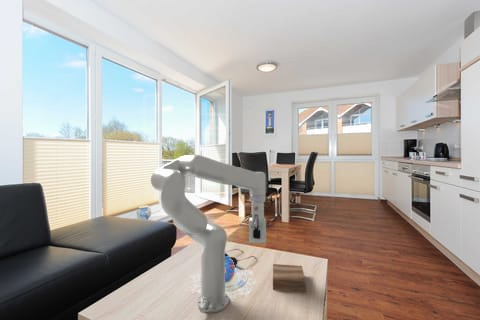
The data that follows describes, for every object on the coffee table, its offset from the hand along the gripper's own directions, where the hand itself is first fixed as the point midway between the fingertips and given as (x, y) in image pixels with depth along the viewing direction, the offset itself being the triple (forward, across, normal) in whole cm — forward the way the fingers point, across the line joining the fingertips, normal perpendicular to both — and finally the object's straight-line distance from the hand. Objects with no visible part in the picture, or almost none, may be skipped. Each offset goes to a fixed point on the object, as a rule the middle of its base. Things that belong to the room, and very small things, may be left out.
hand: (257, 235), depth 107 cm
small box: (+3, 0, 0) cm, 3 cm away
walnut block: (+21, 0, -14) cm, 26 cm away
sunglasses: (+22, +19, +12) cm, 31 cm away
